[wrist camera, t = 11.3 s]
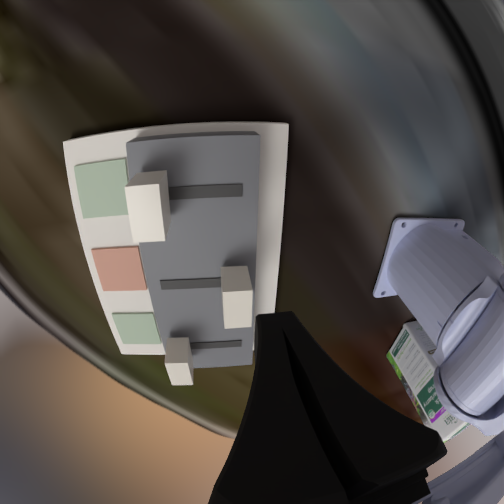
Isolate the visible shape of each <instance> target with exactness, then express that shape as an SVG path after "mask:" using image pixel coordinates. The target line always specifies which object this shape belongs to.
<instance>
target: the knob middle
mask: <svg viewBox="0 0 504 504" xmlns="http://www.w3.org/2000/svg"><path fill="white" fill-rule="evenodd" d="M221 287H222V305H223V317H224V328H225V329H230V328H244V327H252V296H253V289H252V285H251V280H250V276H249V271H248V267H247V266H230V267H221Z"/></svg>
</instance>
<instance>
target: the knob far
mask: <svg viewBox="0 0 504 504" xmlns="http://www.w3.org/2000/svg"><path fill="white" fill-rule="evenodd" d="M165 366H166V369H167V372H168V375H169V378H170V381H171V383H172V385H193V357H192V353H191V348H190V343H189V337H181V338H167V344H166V354H165Z"/></svg>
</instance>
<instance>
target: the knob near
mask: <svg viewBox="0 0 504 504" xmlns="http://www.w3.org/2000/svg"><path fill="white" fill-rule="evenodd" d="M125 195H126V202H127V208H128V214H129V221H130V226H131V232H132V237H133V243H139V242H157V241H166V237H167V233H168V230H169V226H170V223H171V213H170V203H169V192H168V180H167V170H163V171H151V172H140V173H136V175H135V176H134V177H133V178H132V179H131V180H130V181H129V182H128V183H127V185H126V186H125Z"/></svg>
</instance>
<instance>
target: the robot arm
mask: <svg viewBox="0 0 504 504" xmlns="http://www.w3.org/2000/svg"><path fill="white" fill-rule="evenodd" d="M403 222H404V224H403V225H402V223H403ZM464 225H465V222H464V221H463V220H462V219H442V218H396V219H395V220H394V221H393V223H392V228H391V232H390V236H389V239H388V243H387V247H386V251H385V254H384V258H383V261H382V265H381V268H380V271H379V275H378V278H377V281H376V284H375V287H374V291H373V295H374V297H375V298H379V297H386V296H393V295H399V297H400V298H401V299H402V301H403V302H404V303H405V305H406V306H407V307H408V309H409V310H410V311H411V313H412V314H413V315H414V317H415V318H416V319H417V321H418V322H419V323H420V325H421V326H422V328H423V329H424V330H425V332H426V333H427V335H428V336H429V337H430V339H431V340H432V342H433V343H434V345H435V346H436V348H437V349H436V350H435V352H434V353H433V355H432V357H433V358H434V360H435V361H436V363H437V364H438V366H437V367H436V369H435V371H434V386H435V390H436V393H437V396H438V398H439V400H440V402H441V404H442V405H443V407H444V408H445V409H446V410H447V411H448V412H449V413H450V414H451V415H452V416H454V417H455V418H457V419H460V420H462V421H465V422H467V423H470V424H472V425H473V426H475V427H476V428H478V429H479V430H480V431H481V432H482V433H483V434H484V435H485V436H491V435H497V436H496V437H494V438H493V439H492V440H490V441H489V442H488V443H487V444H485V445H484V446H483V447H481V448H480V449H479V450H477V451H476V452H475V453H474V454H473V455H471V456H470V457H468V458H467V459H466V460H464V461H463V462H461V463H460V464H458V465H457V466H455V467H453V468H452V469H450V470H449V471H447V472H446V473H444V474H442V475H441V476H439V477H437V478H435V479H434V480H432V481H430V482H428V483H427V482H426V480H425V478H426V477H427V476H428V472H427V470H426V468H427V467H429V466H430V465H432V464H434V463H435V462H437V461H438V460H439V459H441V458H442V457H444V456H445V455H446V454H447V449H446V447H445V445H444V443H443V440H442V438H441V437H440V435H439V433H438V432H437V431H436V430H434V429H431V428H429V427H427V426H425V425H422V424H420V423H418V422H416V421H414V420H412V419H410V418H408V417H406V416H404V415H403V414H401V413H399V412H397V411H396V410H394V409H393V408H391V407H389V406H388V405H386V404H385V403H383V402H382V401H380V400H379V399H377V398H376V397H374V396H373V395H372V394H371V393H369V392H368V391H367V390H365V389H364V388H363V387H362V386H360V385H359V384H358V383H357V382H356V381H354V380H353V379H352V378H351V377H350V376H349V375H348V374H347V373H346V372H344V371H343V370H342V369H341V368H340V367H339V366H338V365H337V364H336V363H335V362H334V361H333V360H332V359H331V357H330V356H329V355H328V354H327V353H326V352H325V351H324V350H323V349H322V348H321V346H320V345H319V344H318V343H317V342H316V341H315V340H314V338H313V337H312V336H311V335H310V334H309V332H308V331H307V330H306V329H305V327H304V326H303V325H302V323H301V322H300V321H299V319H298V318H297V317H296V315H295V314H294V313H293V312H292V311H289V312H278V313H267V314H258V315H257V316H256V317H255V338H254V353H255V370H254V376H253V381H252V386H251V390H250V394H249V398H248V402H247V406H246V409H245V412H244V415H243V418H242V422H241V425H240V428H239V430H238V433H237V436H236V438H235V441H234V443H233V446H232V449H231V451H230V453H229V456H228V458H227V460H226V462H225V465H224V467H223V469H222V471H221V473H220V475H219V477H218V479H217V481H216V483H215V485H214V488H213V491H212V494H211V497H210V499H209V502H208V504H418V503H420V502H422V501H423V502H422V504H497V503H498V502H499V501H500V499H501V498H502V497H503V496H504V267H503V265H502V264H501V262H500V261H499V260H498V259H497V258H496V257H495V256H494V255H492V254H491V253H490V252H489V251H488V250H486V249H485V248H484V247H483V246H482V245H480V244H479V243H478V242H477V241H475V240H474V239H473V238H472V237H470V236H469V235H468V234H466V233H465V232H464V231H463V228H464Z"/></svg>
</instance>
